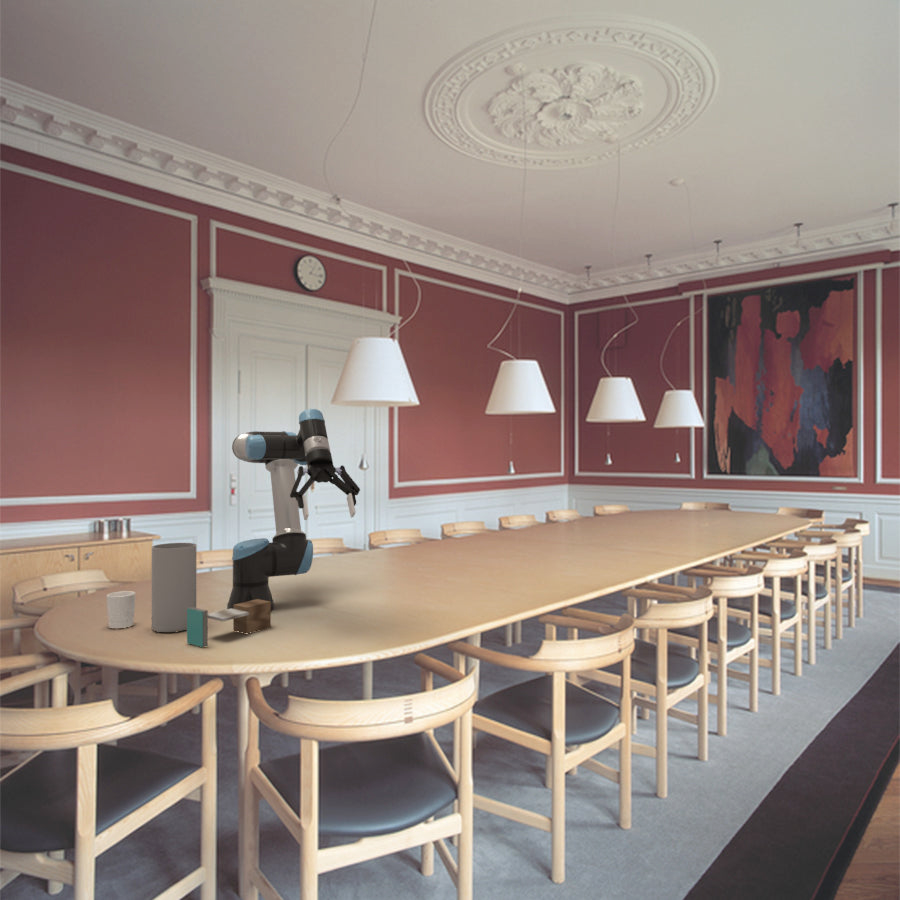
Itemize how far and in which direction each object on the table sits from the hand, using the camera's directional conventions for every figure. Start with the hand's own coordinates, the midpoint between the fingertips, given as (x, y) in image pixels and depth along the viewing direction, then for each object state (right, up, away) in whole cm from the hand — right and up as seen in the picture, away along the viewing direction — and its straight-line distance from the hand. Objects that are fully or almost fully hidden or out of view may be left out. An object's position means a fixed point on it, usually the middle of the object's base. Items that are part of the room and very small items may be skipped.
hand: (330, 516), depth 185 cm
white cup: (-67, -35, +15) cm, 77 cm away
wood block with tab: (-28, -35, +8) cm, 46 cm away
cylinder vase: (-50, -35, +13) cm, 62 cm away
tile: (-36, -35, -4) cm, 51 cm away
